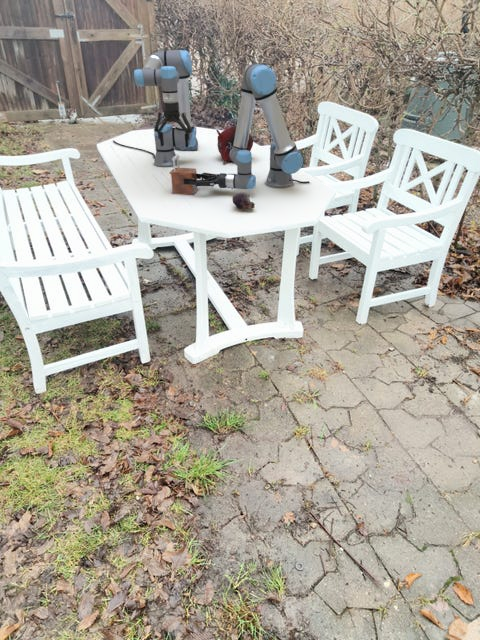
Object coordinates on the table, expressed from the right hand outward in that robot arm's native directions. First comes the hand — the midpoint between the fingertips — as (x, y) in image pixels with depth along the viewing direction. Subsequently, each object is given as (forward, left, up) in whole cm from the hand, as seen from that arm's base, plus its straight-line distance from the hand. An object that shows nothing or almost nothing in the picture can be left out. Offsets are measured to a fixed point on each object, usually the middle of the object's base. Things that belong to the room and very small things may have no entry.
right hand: (186, 178), depth 245 cm
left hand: (+5, -2, +17) cm, 18 cm away
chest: (+1, -1, -7) cm, 7 cm away
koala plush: (-12, -95, -7) cm, 96 cm away
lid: (+1, -1, +3) cm, 4 cm away
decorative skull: (-40, -57, -7) cm, 70 cm away
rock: (-23, +34, -7) cm, 42 cm away
